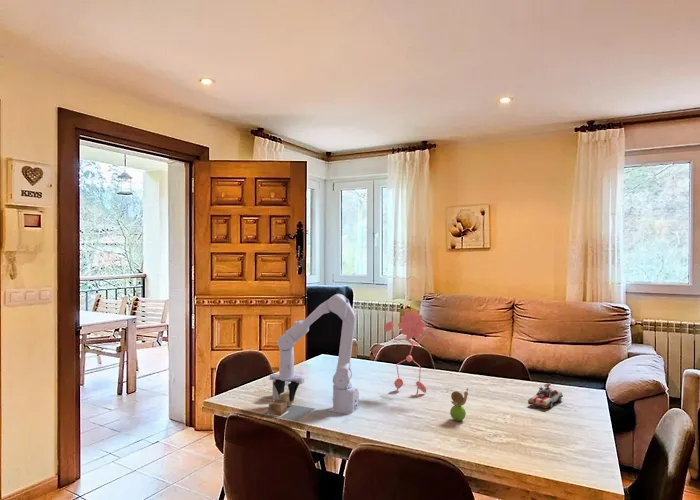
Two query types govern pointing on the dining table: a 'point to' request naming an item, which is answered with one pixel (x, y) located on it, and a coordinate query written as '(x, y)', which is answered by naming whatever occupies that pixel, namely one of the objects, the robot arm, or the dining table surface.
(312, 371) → the dining table surface
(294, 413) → the mat
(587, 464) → the dining table surface
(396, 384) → the figurine
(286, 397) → the beech brick
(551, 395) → the toy car
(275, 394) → the medicine box
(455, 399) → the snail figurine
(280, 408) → the walnut brick
